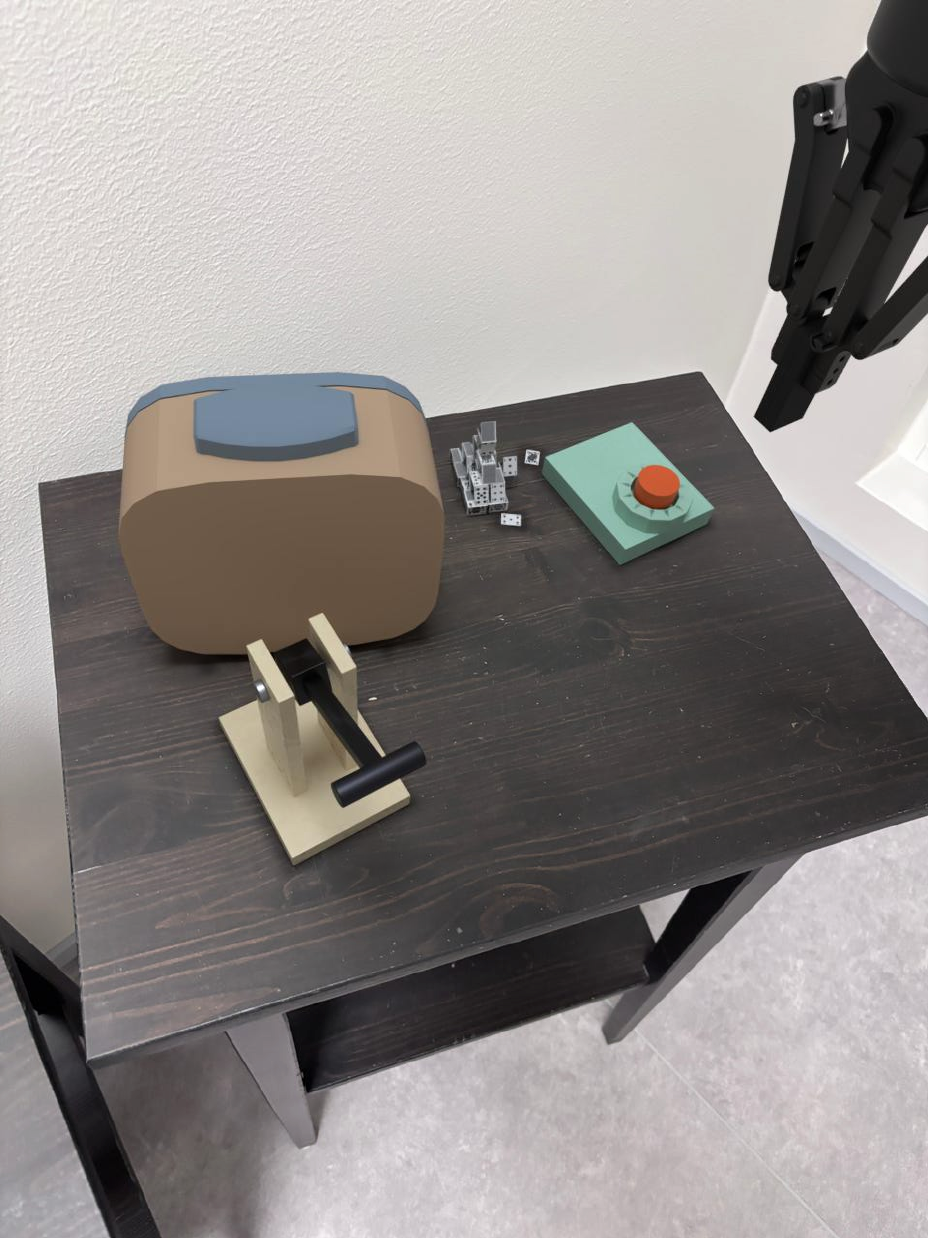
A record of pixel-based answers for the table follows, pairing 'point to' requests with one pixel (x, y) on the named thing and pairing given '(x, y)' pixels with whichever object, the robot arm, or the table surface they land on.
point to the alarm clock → (280, 510)
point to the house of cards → (486, 474)
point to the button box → (622, 493)
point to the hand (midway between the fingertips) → (778, 417)
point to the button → (656, 487)
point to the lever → (344, 726)
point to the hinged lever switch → (304, 752)
